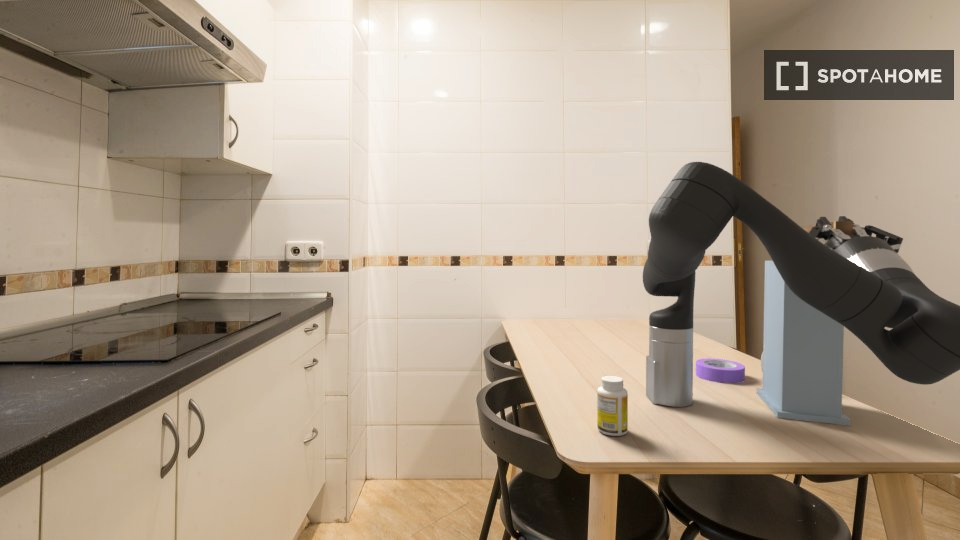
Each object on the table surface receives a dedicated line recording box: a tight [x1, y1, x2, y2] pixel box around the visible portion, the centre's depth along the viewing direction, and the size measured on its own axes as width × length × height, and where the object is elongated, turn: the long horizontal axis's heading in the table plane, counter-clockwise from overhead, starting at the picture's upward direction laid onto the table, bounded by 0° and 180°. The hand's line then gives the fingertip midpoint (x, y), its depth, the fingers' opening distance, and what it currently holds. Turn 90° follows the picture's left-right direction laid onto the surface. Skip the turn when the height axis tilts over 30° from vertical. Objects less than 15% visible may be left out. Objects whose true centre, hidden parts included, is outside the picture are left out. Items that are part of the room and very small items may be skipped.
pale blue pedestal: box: [756, 260, 851, 426], centre depth 92 cm, size 12×16×34 cm
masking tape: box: [695, 357, 746, 384], centre depth 116 cm, size 12×12×4 cm
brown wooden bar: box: [800, 220, 854, 235], centre depth 84 cm, size 2×24×2 cm, turn 160°
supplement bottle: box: [596, 375, 629, 437], centre depth 81 cm, size 6×6×10 cm
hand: (830, 221), depth 78 cm, fingers closed on brown wooden bar, 2 cm apart
